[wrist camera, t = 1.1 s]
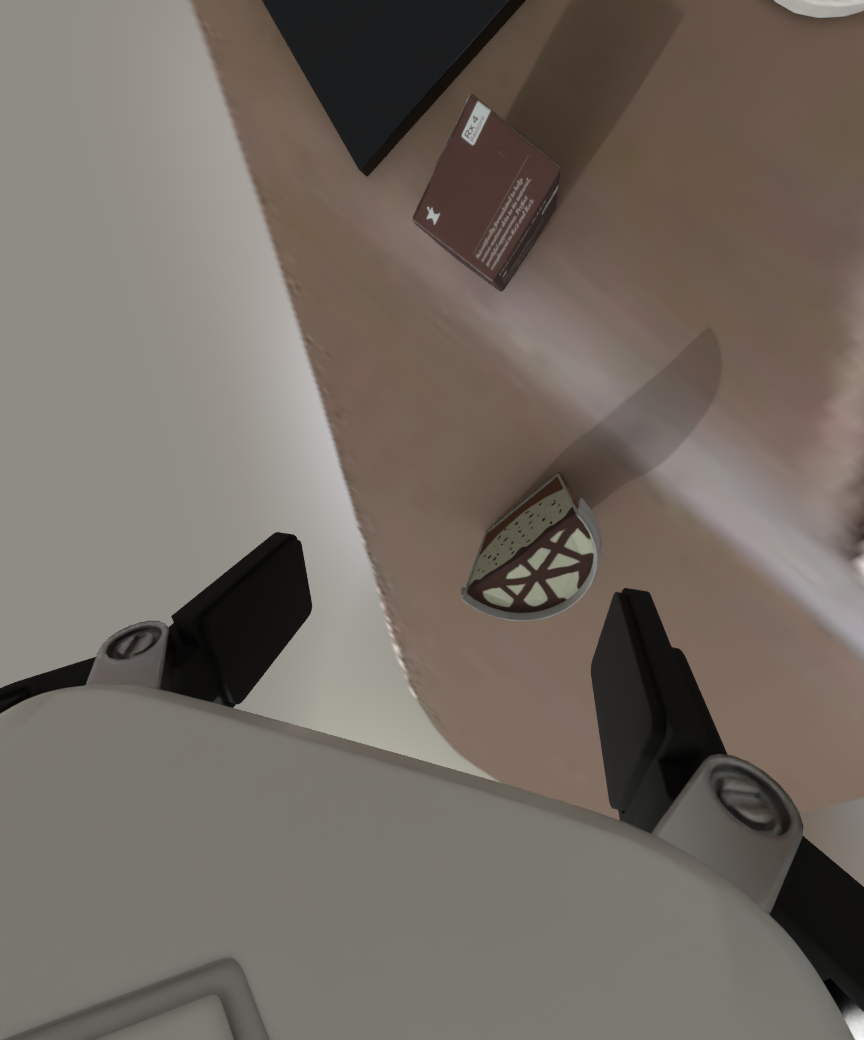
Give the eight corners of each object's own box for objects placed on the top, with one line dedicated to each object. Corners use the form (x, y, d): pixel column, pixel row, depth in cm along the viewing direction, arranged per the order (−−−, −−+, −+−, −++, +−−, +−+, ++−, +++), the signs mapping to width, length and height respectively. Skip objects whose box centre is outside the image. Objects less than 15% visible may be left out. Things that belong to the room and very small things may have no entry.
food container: (516, 579, 40) (510, 649, 31) (474, 541, 39) (456, 602, 30) (618, 508, 34) (646, 571, 25) (572, 461, 33) (584, 509, 24)
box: (501, 294, 28) (491, 286, 22) (437, 244, 28) (408, 220, 22) (558, 206, 25) (565, 167, 19) (486, 147, 25) (470, 87, 19)
